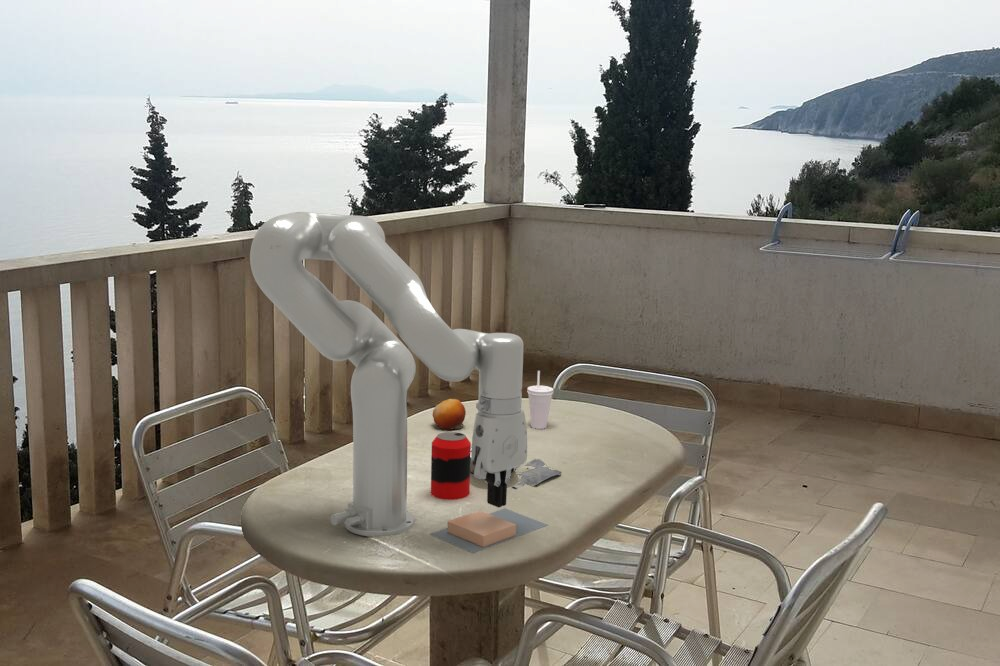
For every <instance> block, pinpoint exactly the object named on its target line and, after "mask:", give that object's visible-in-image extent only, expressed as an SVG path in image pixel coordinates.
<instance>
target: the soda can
mask: <svg viewBox="0 0 1000 666" xmlns="http://www.w3.org/2000/svg"><path fill="white" fill-rule="evenodd" d="M471 449H472V442H470V440H469V439H468V438H467V436H466V434H464V433H461V432H457V431H455V432H454V431H447V432H440V433H438V434H437V435H436V436H435V438H434V439H433V440H432V441H431V455H430V457H431V459H430V461H431V462H430V463H431V465H430V466H431V469H430V495H431V496H432V497H434V498H436V499H441V500H447V501H448V500H449V501H450V500H451V501H452V500H461V499H465V498H467V497H469V496H470V489H471V488H470V487H471V486H470V485H471V483H470V482H471V481H470V480H471Z"/></svg>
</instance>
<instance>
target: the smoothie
mask: <svg viewBox="0 0 1000 666" xmlns="http://www.w3.org/2000/svg"><path fill="white" fill-rule="evenodd" d="M540 375H541V370H537V377H536V378H537V380H536V381H537V382H536V385H531V386H528V387H527V389H526V390H527V391H526V392H527V393H528V403H529V415H530V417H529V418H530V427H531V428H532V429H535V428H536V429H535V430H545V429H546V428H547V425H548V422H549V421H548V420H549V415H550V406H551V403H552V396H553V394H554V388H553V387H551V386H548V385H540V380H541V379H540V377H541V376H540ZM544 428H545V429H544Z"/></svg>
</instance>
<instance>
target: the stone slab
mask: <svg viewBox="0 0 1000 666" xmlns="http://www.w3.org/2000/svg"><path fill="white" fill-rule="evenodd" d="M545 464H546V463H545V462H544V461H542V460H541V459H540V458H538V459H537V458H536V459H535V458H534V459H533V460H531V461H528V462H527V463H526V464H525V465H524V466H532V467H535V468H534V469H527V470H526V471H522V473H521V472H520V473H521V474H517V475H519V476H522V477H521V479H518V480H519V481H517V482H518V483H516V484H513V485H512V486H511V488H515V489H516V490H518V489H520V488H521V487H524V486H525V485H526V486H530V487H535V486H538V484H540V483H542V482H543V481H545V480H547V479H550V478H552V477H554V476H561V471H560V470H557V469H554V470H551V469H549V468H550V467H548V466H547V467H543V466H544V465H545Z"/></svg>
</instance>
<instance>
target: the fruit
mask: <svg viewBox="0 0 1000 666" xmlns="http://www.w3.org/2000/svg"><path fill="white" fill-rule="evenodd" d="M466 415H467V412H466V408H465V406H464V404H463V403H462V402H461V401H460V400H459V399H457V398H447V399H446V400H445V399H444V400H442V401H441V402H440V403H439V404H436V405H435V408H433V410H432V418H433V422H434V424H435V425H437V426H438V428H440V429H442V430H446V431H449V430H454V429H456V430H457V429H458V430H461V426H464V424H463V423H464V421H465V418H466Z"/></svg>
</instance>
